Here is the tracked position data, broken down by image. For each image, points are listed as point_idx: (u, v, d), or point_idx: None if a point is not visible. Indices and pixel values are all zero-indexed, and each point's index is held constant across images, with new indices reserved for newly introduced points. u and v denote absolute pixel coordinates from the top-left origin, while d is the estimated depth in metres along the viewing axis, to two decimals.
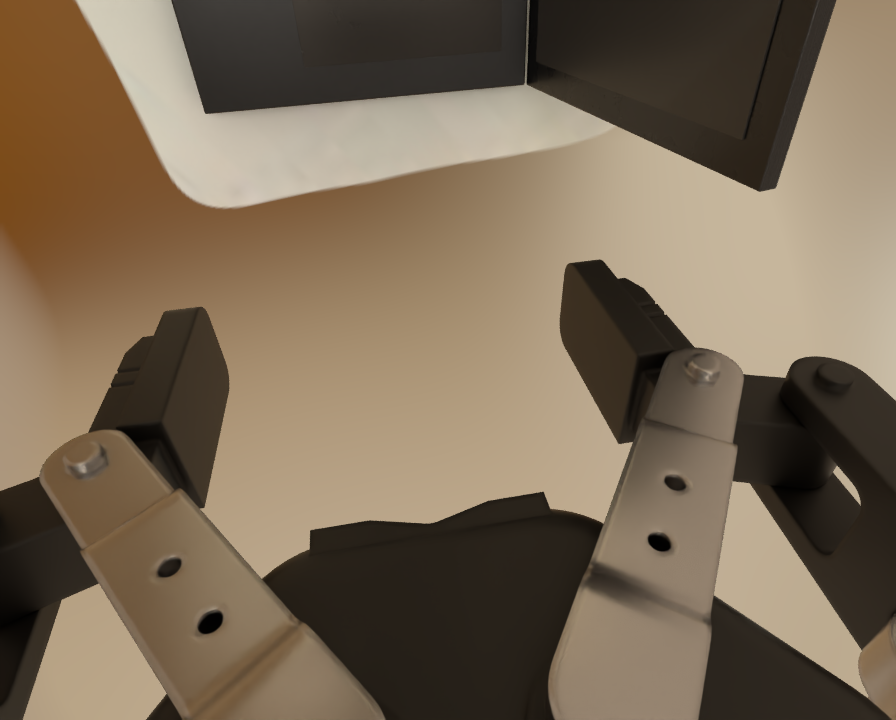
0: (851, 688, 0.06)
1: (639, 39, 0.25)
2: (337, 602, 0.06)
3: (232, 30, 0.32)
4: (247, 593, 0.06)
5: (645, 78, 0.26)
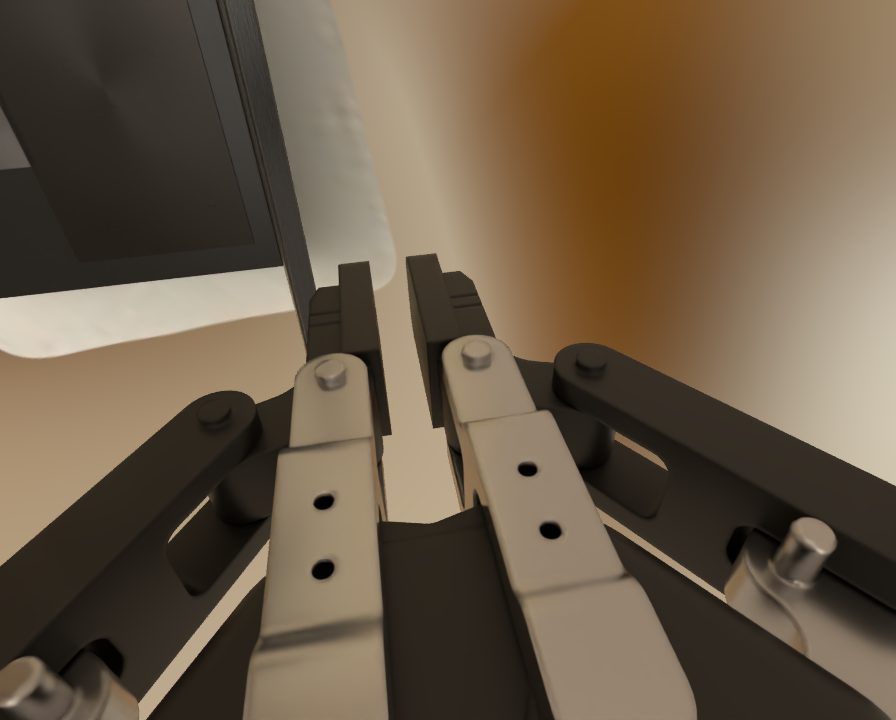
0: (851, 688, 0.06)
1: (291, 294, 0.31)
2: None
3: (8, 240, 0.38)
4: (361, 563, 0.06)
5: None
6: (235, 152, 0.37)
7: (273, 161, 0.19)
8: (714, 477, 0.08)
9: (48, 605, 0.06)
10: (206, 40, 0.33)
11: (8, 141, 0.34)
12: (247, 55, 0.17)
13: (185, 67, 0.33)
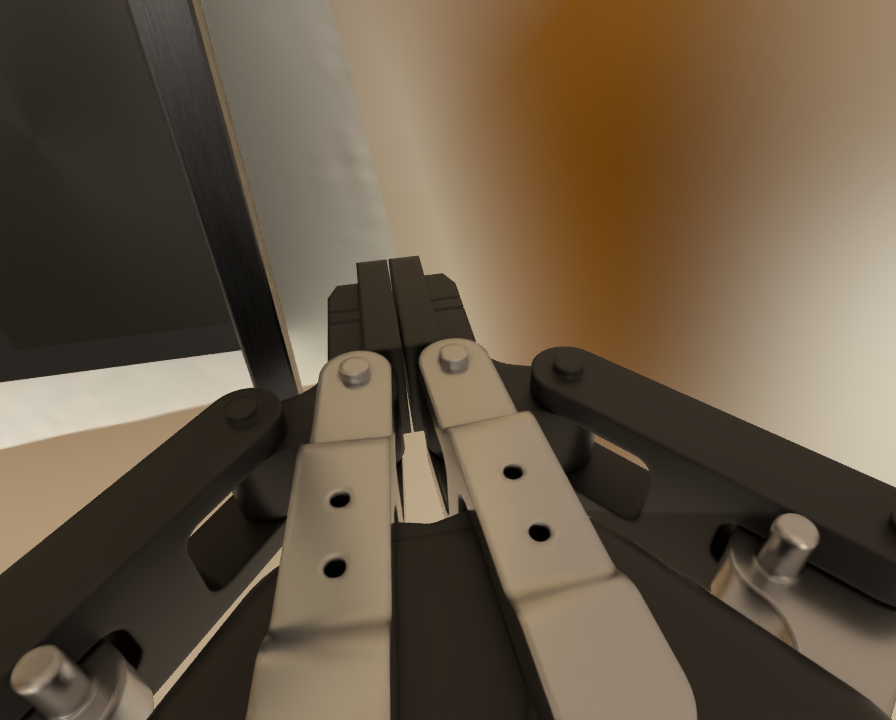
0: (851, 688, 0.06)
1: None
2: None
3: None
4: (373, 565, 0.06)
5: None
6: None
7: (258, 344, 0.11)
8: (696, 477, 0.08)
9: (70, 594, 0.06)
10: None
11: None
12: (205, 180, 0.09)
13: (143, 111, 0.25)
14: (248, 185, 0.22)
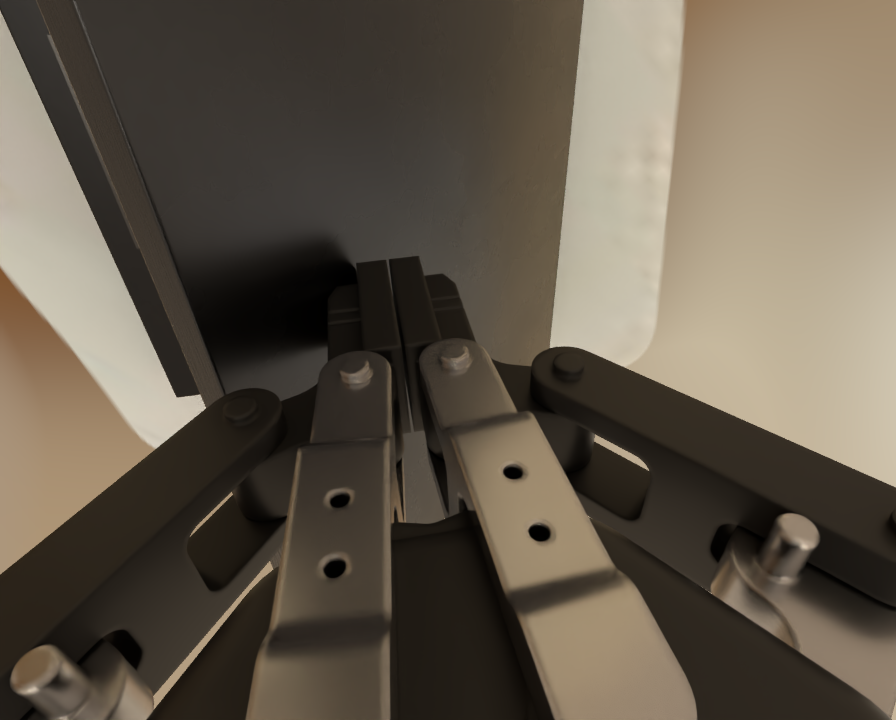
0: (851, 688, 0.06)
1: None
2: None
3: None
4: (372, 564, 0.06)
5: None
6: None
7: (192, 354, 0.10)
8: (696, 477, 0.08)
9: (70, 594, 0.06)
10: None
11: None
12: (122, 185, 0.08)
13: None
14: (509, 190, 0.20)
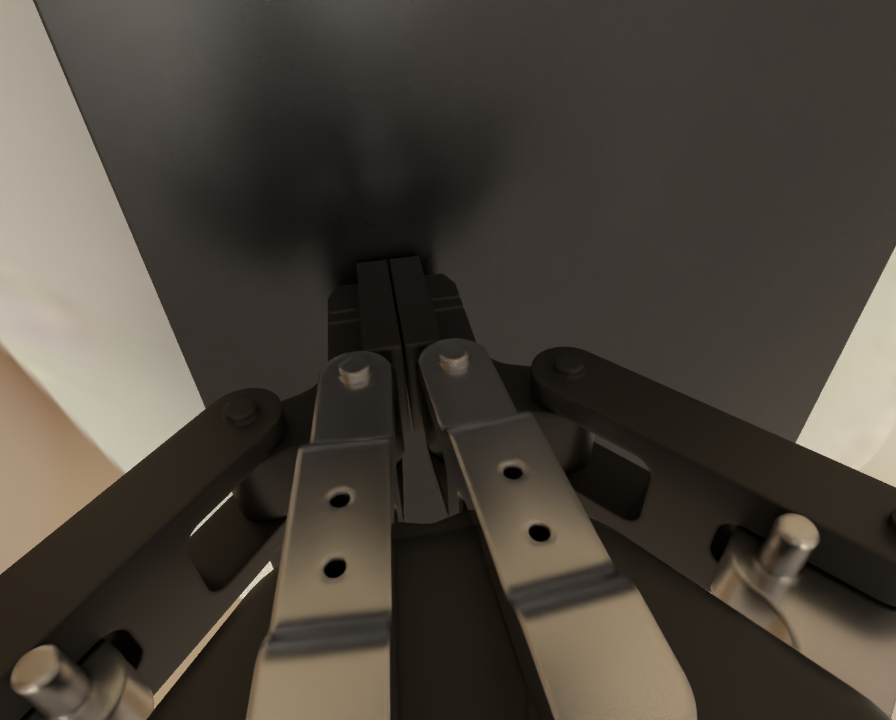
0: (851, 688, 0.06)
1: None
2: None
3: None
4: (373, 564, 0.06)
5: None
6: None
7: None
8: (696, 477, 0.08)
9: (70, 594, 0.06)
10: None
11: None
12: None
13: None
14: (692, 269, 0.15)
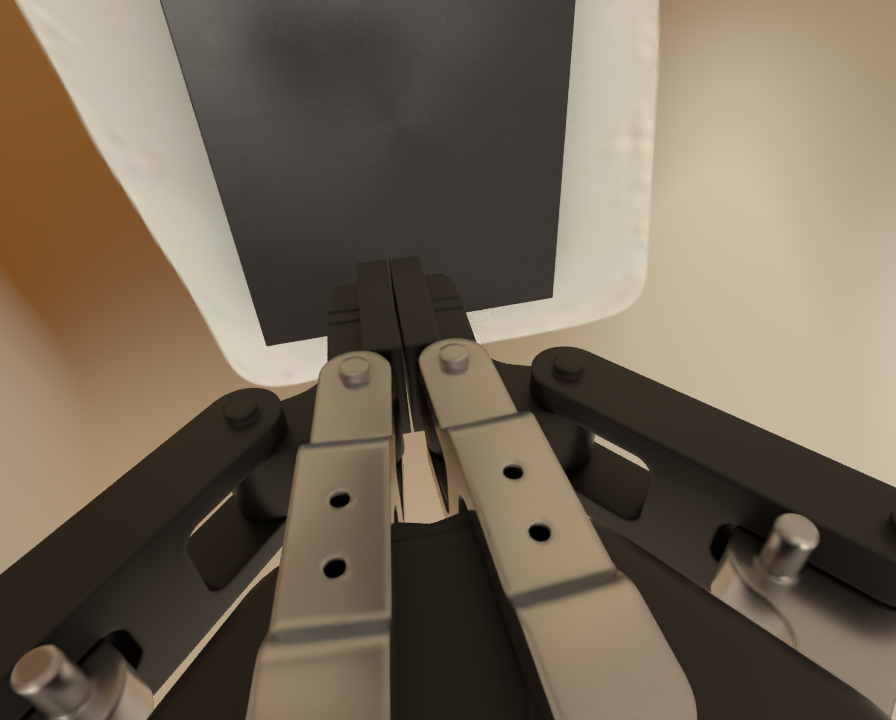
0: (851, 688, 0.06)
1: None
2: None
3: None
4: (373, 565, 0.06)
5: None
6: None
7: None
8: (697, 477, 0.08)
9: (70, 595, 0.06)
10: None
11: None
12: None
13: None
14: (454, 131, 0.32)
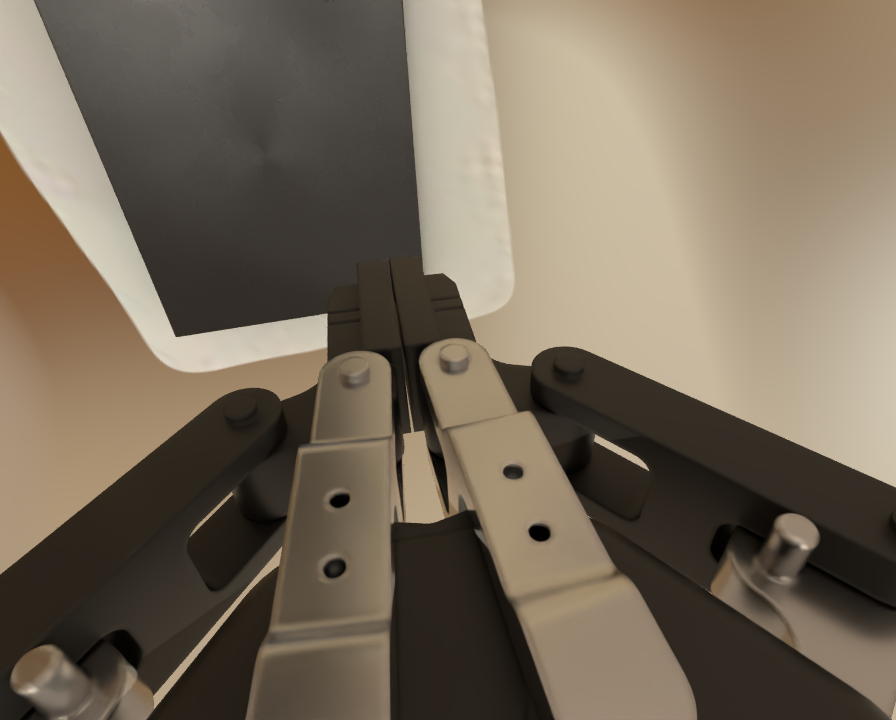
0: (851, 688, 0.06)
1: None
2: None
3: None
4: (373, 565, 0.06)
5: None
6: None
7: None
8: (696, 477, 0.08)
9: (70, 595, 0.06)
10: None
11: None
12: None
13: None
14: (318, 162, 0.39)
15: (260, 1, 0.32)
